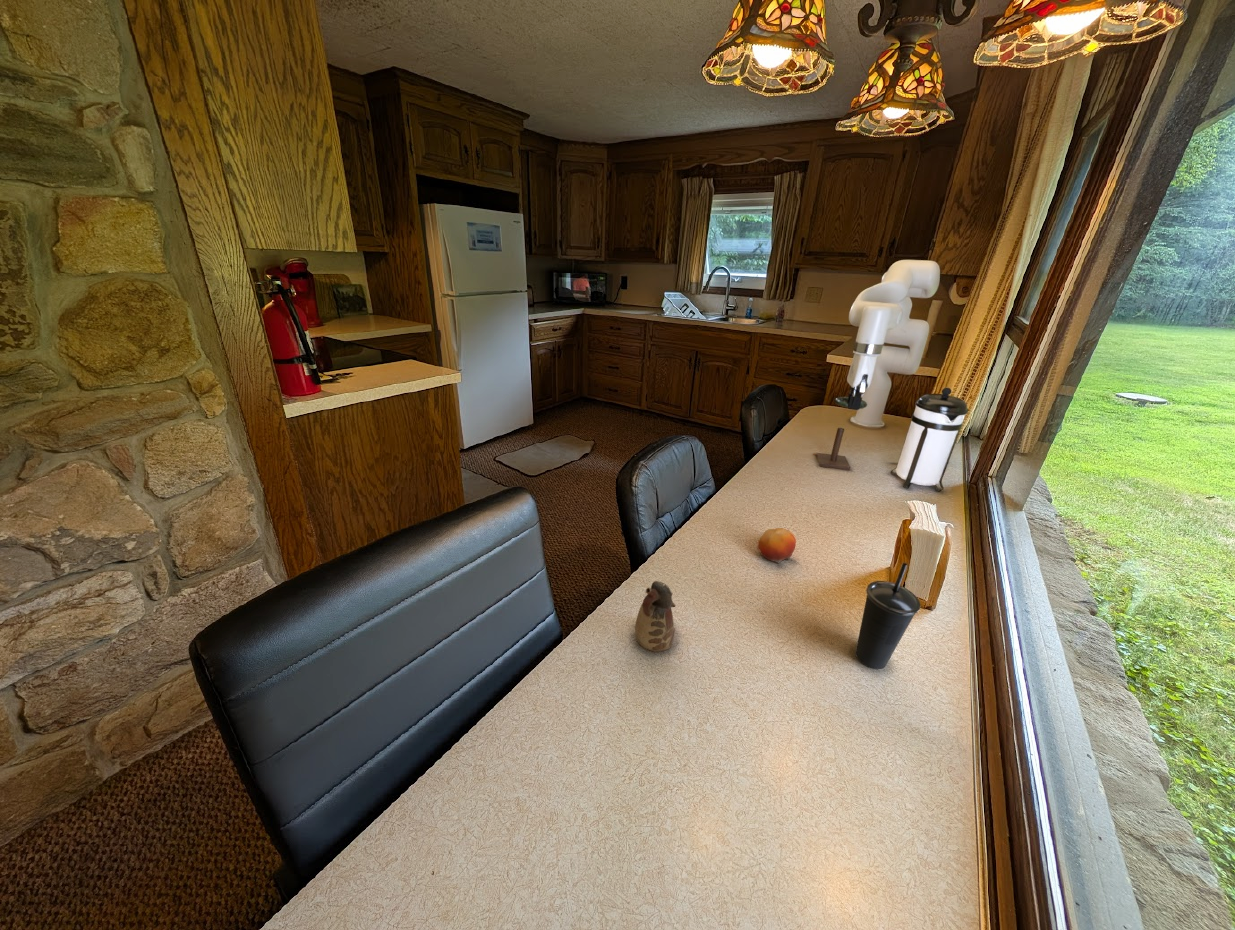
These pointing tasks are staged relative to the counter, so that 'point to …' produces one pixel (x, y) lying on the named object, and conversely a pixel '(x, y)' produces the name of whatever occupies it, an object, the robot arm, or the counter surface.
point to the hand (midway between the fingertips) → (852, 407)
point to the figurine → (656, 618)
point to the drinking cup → (885, 620)
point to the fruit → (777, 544)
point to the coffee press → (931, 439)
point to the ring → (843, 402)
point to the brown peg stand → (834, 455)
